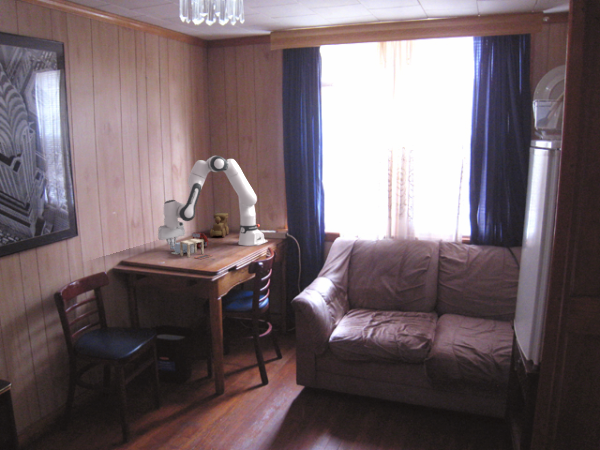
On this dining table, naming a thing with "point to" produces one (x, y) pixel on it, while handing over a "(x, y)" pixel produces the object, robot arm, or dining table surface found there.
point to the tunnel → (188, 242)
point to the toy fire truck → (199, 236)
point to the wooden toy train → (220, 225)
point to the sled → (177, 247)
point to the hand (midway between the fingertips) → (172, 244)
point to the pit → (203, 256)
